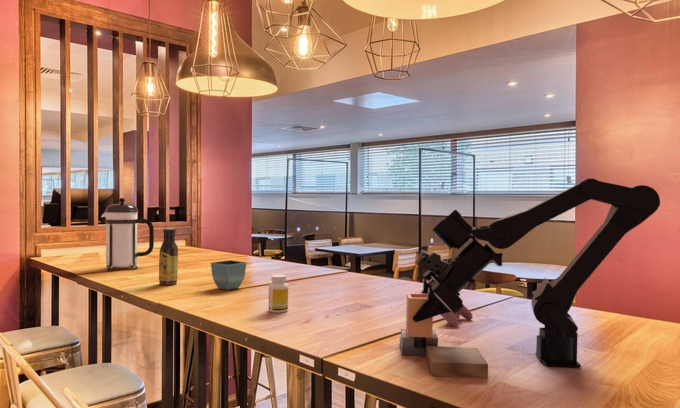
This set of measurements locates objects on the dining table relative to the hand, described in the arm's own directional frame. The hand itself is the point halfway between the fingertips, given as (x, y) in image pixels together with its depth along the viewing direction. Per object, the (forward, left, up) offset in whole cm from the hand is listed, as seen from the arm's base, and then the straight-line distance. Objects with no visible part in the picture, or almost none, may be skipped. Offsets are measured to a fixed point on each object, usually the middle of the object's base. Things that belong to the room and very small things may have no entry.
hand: (412, 316), depth 99 cm
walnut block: (-7, +9, -7) cm, 14 cm away
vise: (-1, 0, -7) cm, 7 cm away
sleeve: (-1, 0, -4) cm, 4 cm away
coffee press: (+114, -92, -7) cm, 146 cm away
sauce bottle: (+81, -61, -7) cm, 101 cm away
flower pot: (+58, -57, -7) cm, 81 cm away
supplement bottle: (+35, -29, -7) cm, 46 cm away
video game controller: (-13, -24, -7) cm, 28 cm away
